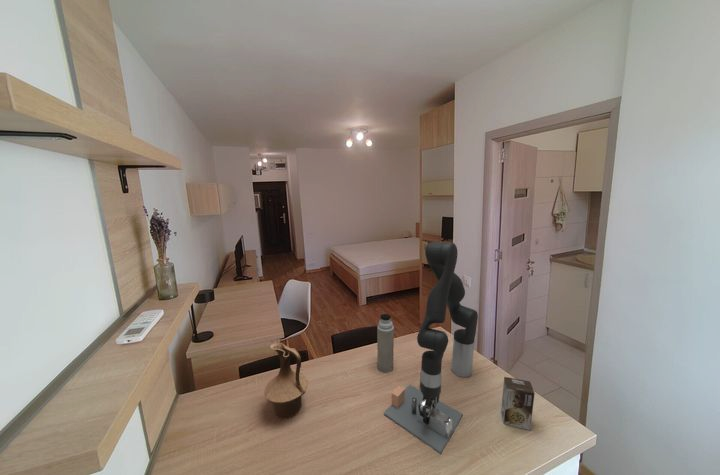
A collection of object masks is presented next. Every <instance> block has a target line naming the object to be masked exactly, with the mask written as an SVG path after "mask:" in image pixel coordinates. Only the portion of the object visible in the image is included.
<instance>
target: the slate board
mask: <svg viewBox="0 0 720 475" xmlns="http://www.w3.org/2000/svg"><path fill="white" fill-rule="evenodd" d="M404 389H405V400H404V402H403V403H402V404H401V405H400V406H399V407H398V408H396V407H395V406H393V405H392V404H391V405H389V407H388V408H387V409H386V410H385V411H384V412H383V415H384V416H385V417H386V418H388V419H389V420H390V421H393V423H395V424H397V425H398V426H400V427H401V428H402V429H404V430H405V431H407V432H409V434H411V435H412V436H413V437H415V438H417V439H418V440H419V441H421V442H422V443H424V444H425V445H427V446H428V447H430V448H431V449H432V450H434V451H436V452H437V453H438V454H440V455H442V452H443V450H444V449H445V447H446V445H447V444H448V442H449V440H450V438H451V437H452V435H453V433H454V432H455V430H456V428H457V426H458V425H459V423H460V421H461V419H462V417H463V415H464V414H463V412H460V411H458V410H456V409H455V408H453V407H451V406H449V405H447V404H446V403H444V402H442V401H440V400H439V402H438V403H436V409H438V410H439V411H441V412H443V413H444V414H446V415H448V416H449V417H451V418H452V419H453V421H452V433H451V434H450V435H449V438H445V437H444V436H442V435H440V434H439V433H437V432H436V431H434V430H432V429H431V428H429V427H428V426H426V425H425V424H423V423H421V422H420V421H418V420H417V407H418V405H419V404H420V403H421V402H422V401H423V394H422V392H421V390H420V388H417V387H415V386H413V385H412V384H409V385H408V386H406V388H404ZM413 397H414V398H416V399H417V404H416V414H412V398H413Z"/></svg>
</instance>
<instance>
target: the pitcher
mask: <svg viewBox="0 0 720 475" xmlns="http://www.w3.org/2000/svg"><path fill="white" fill-rule="evenodd" d="M275 347H279V348H275ZM269 349H270V350H271V351H275V352H276V353H277V354H278V357H279V361H280V367H279V372H278V374H277V375H275V376H274V377H273V378H272V379H270V380H269V381H268V382H267V384H266V385H265V387H264V396H265V397H266V399H267V400H268V401H270V402H272V405H273V410H274V414H275V416H276V417H279V418H282V419H287V418H290V417H293V416H294V415H296V414H298V412H299V411H300V410H301V408H302V396H304V395H305V394H306V391H307V388H308V384H309V383H308V382H309V381H308V378H307V377H306V376H305V374H303V373H301V372H300V371H301V367H302V357H301V355H300V353H299V352H298V351H297V350H296V348H293V347H292V348H291V347H289V346H287V345H285V344H284V343H282V342H274V343H272V344H270V346H269ZM291 357H294V358H295V361H296V366H295V367H296V368H295V371H293V369H292V368H291V362H290V361H291Z"/></svg>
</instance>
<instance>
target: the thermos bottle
mask: <svg viewBox="0 0 720 475" xmlns="http://www.w3.org/2000/svg"><path fill="white" fill-rule="evenodd" d="M393 324H394V323H393V321H392V320H391V315H390V314H389V313H383V314H380V320H379V321H378V324H377V327H376V328H377V331H376V332H377V333H376V335H377V336H376V338H377V341H376V342H377V344H376V345H377V360H376V361H377V362H376V364H377V366H376V367H377V369H378V371H379V372H381V373H386V374H387V373H390V372H392V371H393V370H394V347H395V346H394V345H395V343H394V341H395V337H394V335H395V334H394V333H395V326H394V325H393Z"/></svg>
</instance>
